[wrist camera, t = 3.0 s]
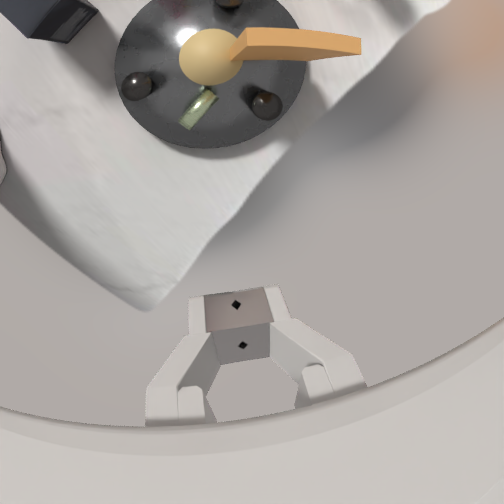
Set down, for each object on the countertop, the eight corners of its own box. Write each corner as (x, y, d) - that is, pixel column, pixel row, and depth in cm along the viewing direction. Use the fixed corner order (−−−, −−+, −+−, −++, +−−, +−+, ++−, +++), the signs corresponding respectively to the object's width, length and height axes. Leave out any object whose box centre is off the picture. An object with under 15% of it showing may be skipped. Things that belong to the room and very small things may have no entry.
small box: (31, 15, 15) (-10, 7, 7) (63, -19, 13) (28, -38, 5) (66, 46, 21) (24, 40, 12) (100, 10, 19) (68, -10, 11)
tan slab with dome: (182, 89, 27) (170, 89, 16) (178, 36, 23) (164, 3, 12) (303, 82, 28) (361, 85, 17) (301, 31, 24) (358, 9, 13)
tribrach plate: (216, 178, 36) (218, 188, 33) (86, 83, 25) (73, 84, 22) (333, 64, 29) (347, 63, 26) (209, -41, 18) (210, -53, 14)
